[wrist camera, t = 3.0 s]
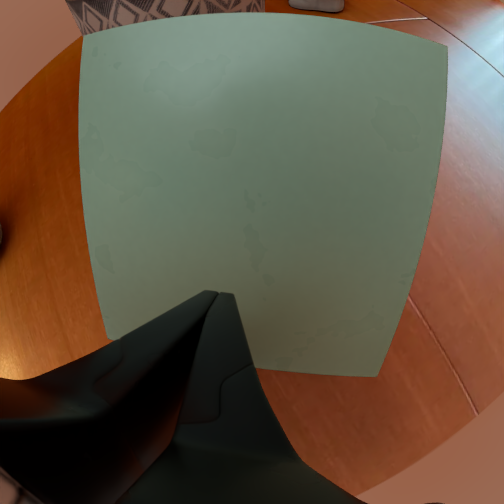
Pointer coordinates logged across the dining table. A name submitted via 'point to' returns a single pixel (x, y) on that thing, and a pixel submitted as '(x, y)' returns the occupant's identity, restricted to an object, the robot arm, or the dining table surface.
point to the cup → (0, 234)
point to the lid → (262, 176)
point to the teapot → (318, 5)
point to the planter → (149, 11)
